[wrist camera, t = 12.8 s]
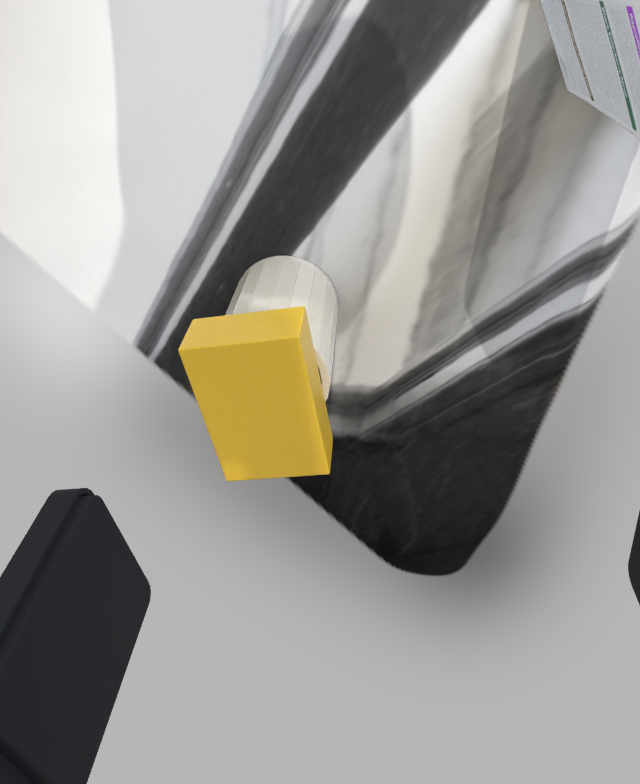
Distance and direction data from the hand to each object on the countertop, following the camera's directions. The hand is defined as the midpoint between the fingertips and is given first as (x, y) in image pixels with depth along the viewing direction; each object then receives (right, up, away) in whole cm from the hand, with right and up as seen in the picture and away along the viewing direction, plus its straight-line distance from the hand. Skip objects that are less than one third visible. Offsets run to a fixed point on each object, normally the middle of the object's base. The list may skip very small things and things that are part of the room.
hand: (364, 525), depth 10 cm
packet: (-4, +3, +22) cm, 23 cm away
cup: (-3, +8, +30) cm, 31 cm away
